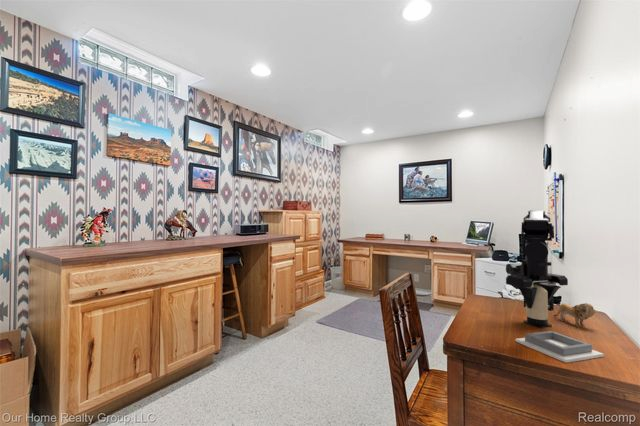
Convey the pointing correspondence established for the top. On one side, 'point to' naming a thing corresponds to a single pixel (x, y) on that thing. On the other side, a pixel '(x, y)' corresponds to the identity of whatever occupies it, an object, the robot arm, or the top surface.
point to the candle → (539, 305)
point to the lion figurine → (577, 312)
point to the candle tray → (559, 346)
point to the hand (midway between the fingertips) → (536, 307)
